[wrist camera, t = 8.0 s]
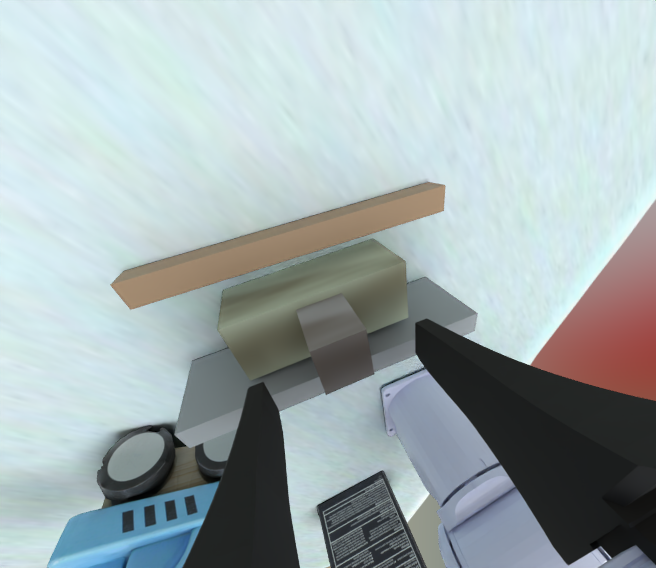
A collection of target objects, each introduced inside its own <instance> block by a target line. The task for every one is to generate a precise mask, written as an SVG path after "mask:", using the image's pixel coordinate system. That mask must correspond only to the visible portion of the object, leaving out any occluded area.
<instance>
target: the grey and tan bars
mask: <svg viewBox="0 0 656 568" xmlns="http://www.w3.org/2000/svg"><path fill="white" fill-rule="evenodd" d="M444 198H445V185H442V184H436V183H431V182H427V183H424V184H420V185H417V186H414V187H410V188H407V189H403V190H400V191H396V192H393V193H390V194H386V195H383V196H379V197H376V198H372V199H369V200H366V201H362V202H359V203H355V204H352V205H348V206H345V207H342V208H338V209H335V210H331V211H328V212H324V213H321V214H318V215H314V216H311V217H307V218H304V219H301V220H297V221H294V222H290V223H287V224H283V225H280V226H277V227H273V228H270V229H266V230H263V231H259V232H256V233H253V234H249V235H246V236H242V237H239V238H235V239H232V240H229V241H225V242H222V243H218V244H215V245H211V246H208V247H205V248H201V249H198V250H194V251H191V252H187V253H184V254H181V255H177V256H174V257H170V258H167V259H163V260H160V261H157V262H153V263H150V264H146V265H143V266H139V267H136V268H133V269H129V270H126V271H123V272H122V273H121V274H120V275H119V276H118V277H117V278H116V279H115V280H114V282H113V283H112V284H111V286H112V288H113V289H114V290H115V291H116V293H117V294H118V295H119V296H120V297H121V299H122V300H123V301H124V302H125V303H126V305H127V306H128V307H129V308H130V309H135V308H138V307H141V306H144V305H147V304H150V303H153V302H157V301H160V300H163V299H166V298H169V297H172V296H176V295H179V294H182V293H185V292H188V291H191V290H195V289H198V288H201V287H204V286H207V285H210V284H214V283H217V282H220V281H223V280H226V279H229V278H233V277H236V276H239V275H242V274H245V273H248V272H252V271H255V270H258V269H261V268H264V267H267V266H271V265H274V264H277V263H280V262H283V261H286V260H290V259H293V258H296V257H299V256H302V255H305V254H309V253H312V252H315V251H318V250H321V249H324V248H328V247H331V246H334V245H337V244H340V243H343V242H347V241H350V240H353V239H356V238H359V237H362V236H366V235H369V234H372V233H375V232H378V231H381V230H385V229H388V228H391V227H394V226H397V225H400V224H404V223H407V222H410V221H413V220H416V219H419V218H423V217H426V216H429V215H432V214H435V213H438V212H442V211H444ZM407 300H408V318H406V319H403V320H401V321H398V322H396V323H393V324H391V325H388V326H386V327H383V328H381V329H378V330H376V331H373V332H371V333H368V334H367V336H368V341H369V347H370V352H371V357H372V363H373V368H374V372H376V371H378V370H381V369H383V368H386V367H388V366H391V365H393V364H395V363H398V362H400V361H403V360H405V359H408V358H410V357H412V356H415V355H417V354H416V353H415V323H416V322H418V321H421V320H424V319H426V318H427V319H429V320H431V321H433V322H435V323H437V324H439V325H441V326H443V327H445V328H447V329H449V330H451V331H453V332H455V333H457V334H459V335H461V336H463V335H466V334H468V333H471V332H473V331H475V325H476V320H477V314H478V313H476V312H475V311H474V310H472V309H471V308H469V307H468V306H466V305H465V304H464V303H462V302H461V301H459V300H458V299H457V298H455V297H454V296H452V295H451V294H449V293H448V292H447V291H445V290H444V289H442V288H441V287H440V286H438V285H437V284H435V283H434V282H432V281H431V280H430V279H428V278H427V277H424V278H422V279H419V280H416V281H413V282H411V283H408V284H407ZM261 382H264V384H265V386H266V387H267V389H268V391H269V393H270V395H271V396H272V398H273V400H274V402H275V404H276V405H277V407H278V410H279V411H281V410H284V409H286V408H289V407H291V406H294V405H296V404H298V403H301V402H303V401H306V400H308V399H311V398H313V397H315V396H318V395H320V394H323V393H325V391H324V388H323V386H322V383H321V381H320V378H319V375H318V373H317V370H316V368H315V365H314V362H313V360H312V357H308V358H306V359H303V360H301V361H298V362H296V363H293V364H291V365H288V366H286V367H283V368H281V369H279V370H276V371H274V372H271V373H269V374H266V375H264V376H261V377H259V378H256V379H254V380H251V381H250V380H249V378H248V377H247V375H246V373H245V372H244V370H243V369H242V367H241V366H240V364H239V363H238V361H237V360H236V358H235V357H234V355H233V353H232V352H231V350H230V349H229V348H227V349H224V350H221V351H218V352H216V353H213V354H210V355H207V356H204V357H202V358H199V359H196V360H193V361H192V363H191V367H190V371H189V376H188V380H187V384H186V388H185V392H184V396H183V401H182V405H181V409H180V413H179V417H178V421H177V426H176V430H175V434H174V435H175V436H176V437H177V438H178V439H180V440H181V441H182V442H183V443H184V444H185V445H186V446H187V447H188V448H192V447H194V446H197V445H199V444H201V443H204V442H206V441H209V440H211V439H213V438H216V437H218V436H221V435H223V434H226V433H228V432H230V431H233V430H235V429H237V428H238V425H239V421H240V418H241V414H242V410H243V406H244V402H245V398H246V394H247V390H248V388H249V387H251V386H253V385H256V384H258V383H261Z"/></svg>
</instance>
